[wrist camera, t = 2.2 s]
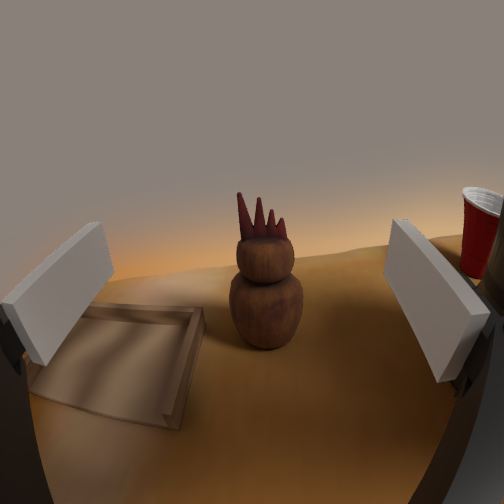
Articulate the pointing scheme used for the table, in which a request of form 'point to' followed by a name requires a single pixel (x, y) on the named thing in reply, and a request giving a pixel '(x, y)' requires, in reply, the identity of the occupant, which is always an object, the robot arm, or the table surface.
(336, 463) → the table surface
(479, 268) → the plastic cup
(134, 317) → the tray
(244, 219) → the wooden figurine
